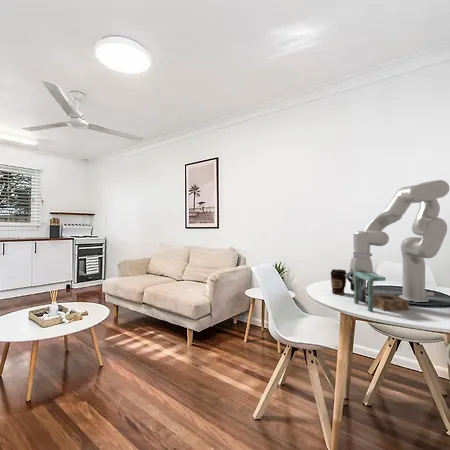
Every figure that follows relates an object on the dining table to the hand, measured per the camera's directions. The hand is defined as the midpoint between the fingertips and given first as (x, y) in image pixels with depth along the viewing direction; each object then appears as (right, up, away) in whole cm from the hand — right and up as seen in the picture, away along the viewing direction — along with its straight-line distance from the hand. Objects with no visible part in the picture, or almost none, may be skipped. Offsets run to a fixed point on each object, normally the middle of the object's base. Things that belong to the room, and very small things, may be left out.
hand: (361, 290), depth 143 cm
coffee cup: (-6, -5, +14) cm, 16 cm away
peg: (0, -5, 0) cm, 5 cm away
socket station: (+4, -5, -10) cm, 12 cm away
